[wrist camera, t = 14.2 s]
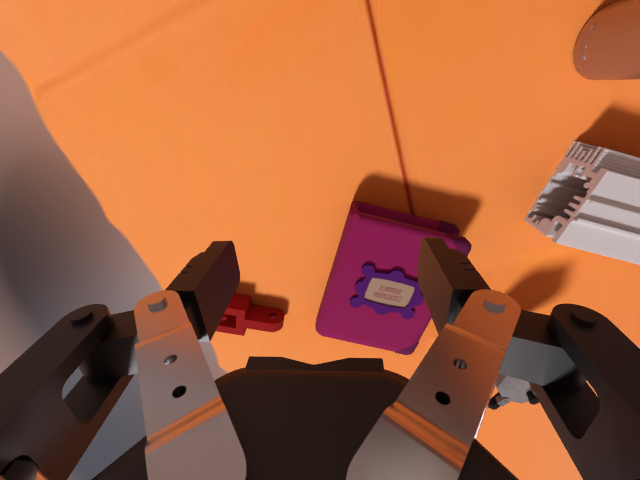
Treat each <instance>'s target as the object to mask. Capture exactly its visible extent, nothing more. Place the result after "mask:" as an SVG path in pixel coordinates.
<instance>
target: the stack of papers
mask: <svg viewBox="0 0 640 480" xmlns="http://www.w3.org/2000/svg"><path fill="white" fill-rule="evenodd" d="M524 221H526V222H528V223H529V224H530V225H531V226H533V227H534V228H536V229H537V230H538V231H540V232H542V233H543V234H544V235H545V236H548V237H552V238H553V239H552V241H553V242H554V243H558V244H562V245H565V246H569V247H573V248H577V249H581V250H585V251H588V252H592V253H596V254H600V255H604V256H608V257H611V258H615V259H619V260H623V261H627V262H631V263H634V264H638V265H640V158H639V157H636V156H632V155H629V154H625V153H622V152H618V151H615V150H611V149H608V148H603V147H600V146H599V147H596V146H592V145H589V144H585V143H582V142H578V141H574V142H573V143H572V145H571V146H570V148H569V149H568V151H567V153H566V154H565V156H564V157H563V159H562V160H561V162H560V164H559V165H558V167H557V168H556V170H555V171H554V173H553V175H552V176H551V178H550V179H549V181H548V182H547V184H546V186H545V187H544V189H543V190H542V192H541V193H540V195H539V197H538V198H537V200H536V201H535V203H534V204H533V206H532V208H531V209H530V211H529V212H528V214H527V215H526V217H525V219H524Z"/></svg>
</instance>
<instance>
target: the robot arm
mask: <svg viewBox="0 0 640 480" xmlns="http://www.w3.org/2000/svg"><path fill="white" fill-rule="evenodd" d="M574 64H575V67H576V69H577V71H578V72H579V73H580V74H581V75H582V76H583V77H585V78H587V79H592V80H631V79H640V0H620V1H617V2H613V3H611V4H609V5H607V6H605V7H604V8H602V9H601V10H599V11H598V12H597V13H596V14H595V15H594V16H593V17H591V18H590V19H589V21H588V22H587V23H586V25H585V26H584V27H583V29H582V30H581V32H580V34H579V36H578V38H577V41H576V43H575V48H574ZM417 279H418V284H419V286H420V289H421V291H422V294H423V296H424V299H425V301H426V304H427V306H428V309H429V312H430V314H431V317H432V319H433V322H434V324H435V327H436V329H437V332H438V334H439V335H438V337H437V338H436V340H435V341H434V343H433V345H432V346H431V348H430V349H429V351H428V352H427V354H426V355H425V357H424V358H423V360H422V362H421V363H420V365H419V366H418V368H417V369H416V371H415V372H414V374H413V375H412V377H411V378H410V380H409V379H407V378H405V377H403V376H401V375H399V374H397V373H394V372H391V371H388V370H384V367H383V360H382V358H346V359H341V360H336V361H332V362H327V363H322V364H317V365H312V364H308V363H303V362H299V361H295V360H291V359H287V358H283V357H249V359H248V362H247V365H246V367H245V368H241V369H238V370H235V371H232V372H230V373H227V374H225V375H224V376H222V377H220V378H218V379H217V380H215V381H214V379H213V377H212V374H211V372H210V370H209V367H208V364H207V362H206V359H205V357H204V354H203V352H202V349H201V347H200V344H199V342H210V341H211V339H212V337H213V335H214V333H215V331H216V329H217V327H218V325H219V323H220V321H221V319H222V317H223V315H224V313H225V311H226V309H227V307H228V305H229V303H230V301H231V299H232V297H233V295H234V293H235V291H236V289H237V287H238V285H239V281H240V271H239V266H238V261H237V256H236V252H235V247H234V244H233V242H232V241H213V242H212V243H211V245H210V246H209V247H208V248H207V250H206V251H205V252H201V253H200V254H198V255H197V256H195V257H194V258H192V259H191V260H190V261H189V263H188V264H187V265H186V267H184V268H183V270H182V271H181V273H179V274H178V275H177V277H176V278H175V279H174V280H173V281H172V283H171V284H170V285H169V286H168V287H167V288H166V290H164V291H159V292H155V293H152V294H150V295H148V296H146V297H144V298H143V299H141V300H140V301H139V302H138V303H137V304H136V306H135V308H134V310H133V311H128V312H123V313H118V314H113V315H111V314H110V312H109V310H108V308H107V307H106V306H105V305H102V304H92V305H88V306H84V307H81V308H79V309H76V310H74V311H73V312H71V313H69V314H68V315H66V316H65V317H63V318H62V319H61V320H60V321H59V322H57V323H56V324H55V325H54V326H53V327H52V328H51V329H50V330H49V331H48V332H46V333H45V334H44V335H43V336H42V337H41V338H40V339H39V340H38V341H37V342H35V343H34V344H33V345H32V346H31V347H30V348H29V349H28V350H26V351H25V353H23V354H22V355H21V356H20V357H19V358H18V359H17V360H15V361H14V362H13V363H12V364H11V365H10V366H9V367H8V368H7V369H6V370H4V371H3V372H2V373H1V374H0V480H67V479H68V477H69V476H70V474H71V472H72V471H73V469H74V468H75V466H76V465H77V463H78V462H79V460H80V458H81V457H82V455H83V454H84V452H85V451H86V449H87V447H88V446H89V444H90V443H91V441H92V439H93V438H94V437H95V435H96V433H97V432H98V430H99V429H100V427H101V426H102V424H103V422H104V421H105V419H106V418H107V416H108V414H109V413H110V412H111V410H112V408H113V407H114V405H115V404H116V402H117V401H118V399H119V398H120V396H121V394H122V393H123V391H124V390H125V388H126V387H127V385H128V383H129V382H130V380H131V379H132V377H133V376H134V374H135V373H138V375H139V383H140V391H141V398H142V406H143V412H144V421H145V428H146V436H145V437H144V438H142V439H141V440H140V441H139V442H138V443H136V444H135V445H134V446H133V447H131V448H130V449H129V450H128V451H126V452H125V453H124V454H123V455H121V456H120V457H119V458H118V459H116V460H115V461H114V462H113V463H112V464H110V465H109V466H108V467H107V468H105V469H104V470H103V471H102V472H101V473H99V474H98V475H97V476H96V477H94V478H93V479H92V480H519V479H518V478H516V477H515V476H514V475H513V474H512V473H511V472H510V471H509V470H508V469H507V468H506V467H505V466H504V465H502V463H500V462H499V461H498V460H497V459H496V458H495V457H494V456H493V455H492V454H491V453H490V452H489V451H488V450H487V449H485V447H483V446H482V445H481V444H480V443H479V442H478V441H477V440H476V437H477V434H478V431H479V428H480V425H481V423H482V420H483V417H484V415H485V412H486V409H487V406H488V404H489V401H490V398H491V395H492V393H493V390H494V387H495V385H496V382H497V379H498V376H499V374H502V375H506V376H509V377H513V378H517V379H520V380H524V381H528V382H529V384H530V386H531V388H532V389H533V391H534V393H535V395H536V396H537V398H538V400H539V402H540V403H541V405H542V407H543V409H544V411H545V412H546V414H547V416H548V418H549V419H550V421H551V423H552V425H553V427H554V428H555V430H556V432H557V434H558V435H559V437H560V439H561V441H562V443H563V444H564V446H565V448H566V450H567V451H568V453H569V455H570V457H571V458H572V460H573V462H574V464H575V466H576V467H577V469H578V471H579V473H580V475H581V476H582V478H583V480H640V349H639V348H638V347H637V346H636V345H635V344H634V343H633V342H632V341H631V340H630V339H629V338H628V337H627V336H625V335H624V334H623V333H622V332H621V331H620V330H619V329H618V328H617V327H616V326H615V325H614V324H613V323H612V322H611V321H610V320H608V319H607V318H606V317H605V316H603V315H601V314H600V313H598V312H596V311H594V310H592V309H589V308H586V307H583V306H580V305H575V304H559V305H556V306H555V307H554V308H553V310H552V312H551V315H550V316H549V315H544V314H539V313H534V312H529V311H524V310H521V307H520V305H519V304H518V302H517V301H516V300H514V299H513V298H512V297H510V296H508V295H506V294H504V293H502V292H499V291H495V290H491V289H490V288H489V286H488V285H487V283H486V282H485V281H484V279H483V278H482V277H481V275H480V274H479V273H478V271H476V269H475V267H474V266H473V265H472V264H471V262H470V260H469V259H468V258H467V256H466V255H465V254H463V253H461V252H460V251H458V250H457V249H450V248H449V247H448V245H447V244H446V242H445V241H444V239H443V238H442V237H423V238H422V240H421V244H420V252H419V260H418V268H417ZM77 367H79V369H80V371H81V372H82V374H83V377H82V378H81V379H80V380H79V381H78V383H77V384H76V385H75V387H74V388H73V389H72V390H71V391H70V393H69V394H68V395H67V396H66V397H65V399H64V400H63V398H62V389H63V386H64V384H65V382H66V380H67V379H68V378H69V377H70V375H71V374H72V373H73V372H74V371H75V370H76V369H77ZM586 380H587V381H588V382H589V383H590V385H591V386H592V387H593V388H594V390H595V392H596V393H597V396H598V397H597V396H596V394H595V393H594V392H593V390H592V389H591V388H590V387H589V385H588V384H587V382H586Z"/></svg>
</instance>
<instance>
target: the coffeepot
mask: <svg viewBox="0 0 640 480" xmlns="http://www.w3.org/2000/svg"><path fill="white" fill-rule="evenodd" d="M496 386H497V389H498V391H499V392H498V393H497V394H496V395H495V396H493V397H492V398H491V399H490V401H489V404H488V406H487V407H489V408H491V409H493V410H494V409H497V408H498V407H500V406H504V405H506V404H507V403H509V402H510V401H513V402H518V403H524V402H528V401H529V402H530V404H537V403H539V400H538V398H537V396H536V395H535V393H534V391H533V389H532V388H531V386H530V384H529V382H528V381H524V380H520V379H517V378H513V377H509V376H506V375H502V374H499V376H498V379H497V382H496Z"/></svg>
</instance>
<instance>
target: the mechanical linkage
mask: <svg viewBox="0 0 640 480" xmlns="http://www.w3.org/2000/svg"><path fill="white" fill-rule="evenodd" d="M283 321H284V313H283V312H282V311H281V310H280V309H275V308H269V307H263V306H257V305H251V296H247V295H241V294H234V295H233V297H232V299H231V301H230V303H229V305H228V307H227V309H226V311H225V313H224V315H223V317H222V319H221V321H220V323H219V325H218V327H217V329H216V331H218V332H224V333H230V334H236V335H243V336H244V334H245V331H246V329H247V328H249V329H255V330H261V331H268V332H276V331H278V330H280V329H281V328H282V327H283Z"/></svg>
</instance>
